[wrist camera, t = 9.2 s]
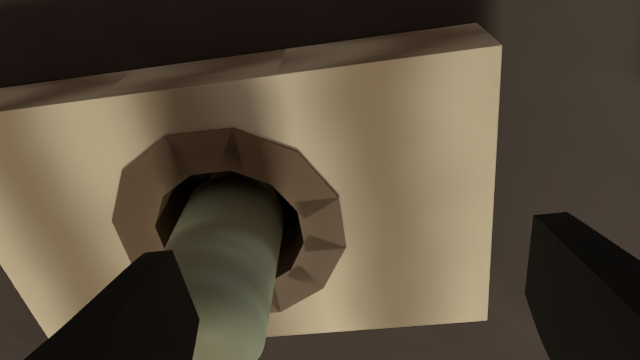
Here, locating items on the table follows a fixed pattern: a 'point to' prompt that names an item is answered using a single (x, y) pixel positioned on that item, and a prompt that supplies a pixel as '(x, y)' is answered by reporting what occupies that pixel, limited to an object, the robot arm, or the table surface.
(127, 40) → the table surface
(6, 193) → the socket board
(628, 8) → the table surface
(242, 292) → the green peg
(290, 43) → the table surface
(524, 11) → the table surface
